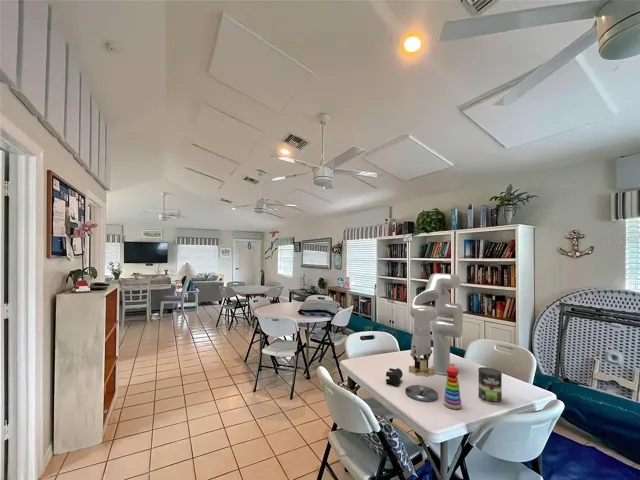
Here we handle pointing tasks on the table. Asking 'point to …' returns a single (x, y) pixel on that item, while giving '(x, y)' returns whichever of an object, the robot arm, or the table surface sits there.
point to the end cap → (393, 376)
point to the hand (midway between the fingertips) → (421, 367)
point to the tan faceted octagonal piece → (422, 369)
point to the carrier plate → (421, 393)
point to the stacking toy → (452, 389)
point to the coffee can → (490, 385)
